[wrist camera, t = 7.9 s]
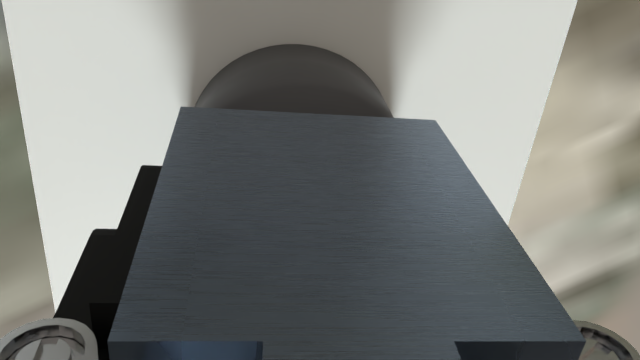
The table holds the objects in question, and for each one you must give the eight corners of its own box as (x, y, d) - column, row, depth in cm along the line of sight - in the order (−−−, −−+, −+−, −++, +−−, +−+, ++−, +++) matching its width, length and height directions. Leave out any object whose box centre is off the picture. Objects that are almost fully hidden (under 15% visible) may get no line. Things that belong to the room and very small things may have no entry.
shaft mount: (-9, -236, 12) (-612, -458, 4) (593, -161, 14) (1103, -195, 6) (74, 320, 20) (-59, 658, 11) (455, 322, 22) (581, 614, 13)
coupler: (180, 106, 11) (81, 421, 5) (435, 120, 11) (634, 412, 5) (185, 307, 13) (125, 683, 7) (394, 308, 14) (500, 654, 8)
